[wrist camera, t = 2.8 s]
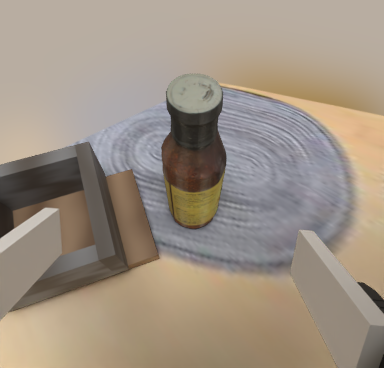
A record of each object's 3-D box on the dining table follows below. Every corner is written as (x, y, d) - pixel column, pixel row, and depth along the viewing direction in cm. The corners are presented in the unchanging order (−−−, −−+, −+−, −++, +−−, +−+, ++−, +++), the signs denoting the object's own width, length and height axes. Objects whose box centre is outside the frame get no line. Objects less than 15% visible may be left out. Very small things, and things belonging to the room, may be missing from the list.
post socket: (133, 173, 39) (118, 127, 30) (160, 262, 33) (152, 238, 24) (-56, 228, 34) (-139, 193, 25) (-61, 341, 29) (-170, 347, 20)
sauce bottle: (225, 212, 36) (265, 103, 19) (188, 240, 35) (193, 148, 17) (195, 177, 39) (205, 51, 21) (158, 202, 37) (135, 86, 19)
